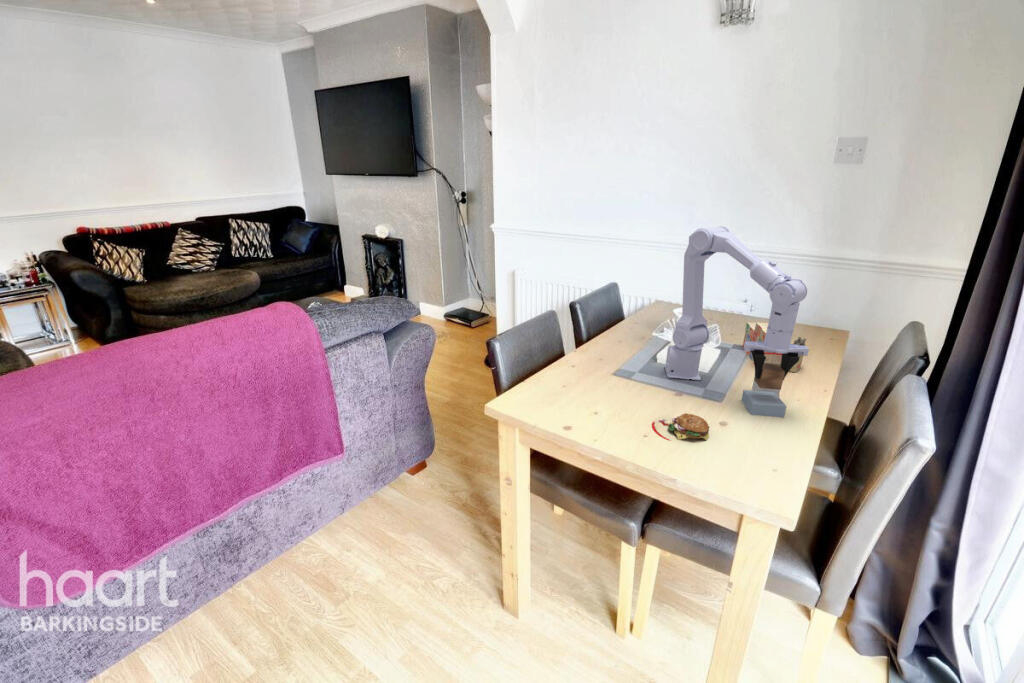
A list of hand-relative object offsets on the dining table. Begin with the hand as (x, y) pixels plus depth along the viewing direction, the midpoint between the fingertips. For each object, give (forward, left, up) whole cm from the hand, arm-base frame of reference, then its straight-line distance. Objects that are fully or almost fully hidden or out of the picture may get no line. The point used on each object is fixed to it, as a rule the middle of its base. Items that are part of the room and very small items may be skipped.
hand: (768, 378), depth 124 cm
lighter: (+17, +30, -9) cm, 36 cm away
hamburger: (-23, -15, -10) cm, 29 cm away
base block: (0, 0, -9) cm, 9 cm away
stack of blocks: (+10, +37, -9) cm, 39 cm away
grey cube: (+4, +10, -9) cm, 14 cm away
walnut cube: (0, 0, -2) cm, 2 cm away
